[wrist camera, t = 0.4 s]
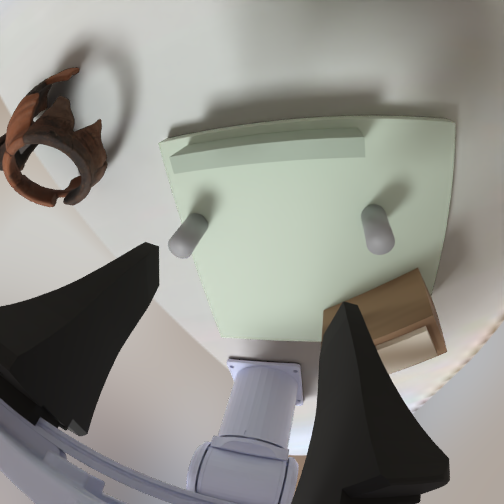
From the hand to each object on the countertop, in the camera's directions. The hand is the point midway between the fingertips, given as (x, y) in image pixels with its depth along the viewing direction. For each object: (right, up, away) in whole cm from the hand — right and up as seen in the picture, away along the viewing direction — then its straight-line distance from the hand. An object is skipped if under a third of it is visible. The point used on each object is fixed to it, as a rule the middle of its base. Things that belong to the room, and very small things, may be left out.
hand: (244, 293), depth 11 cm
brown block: (+10, -3, +10) cm, 15 cm away
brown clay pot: (-14, +12, +8) cm, 20 cm away
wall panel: (+5, +2, +10) cm, 11 cm away
